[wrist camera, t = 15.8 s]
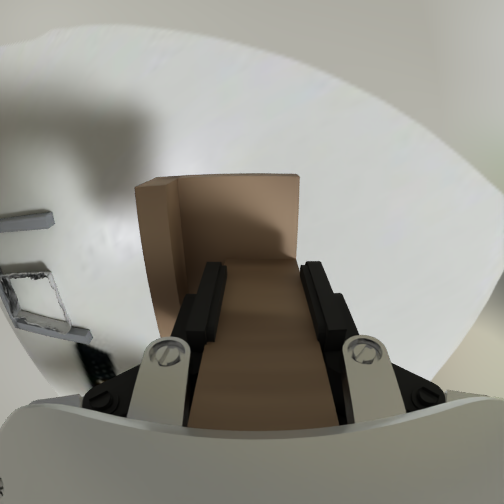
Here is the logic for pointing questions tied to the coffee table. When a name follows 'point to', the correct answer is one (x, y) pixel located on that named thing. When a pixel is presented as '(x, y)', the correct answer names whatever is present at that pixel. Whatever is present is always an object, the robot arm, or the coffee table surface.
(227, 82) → the coffee table surface
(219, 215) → the tan l-shaped bracket
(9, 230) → the bay
